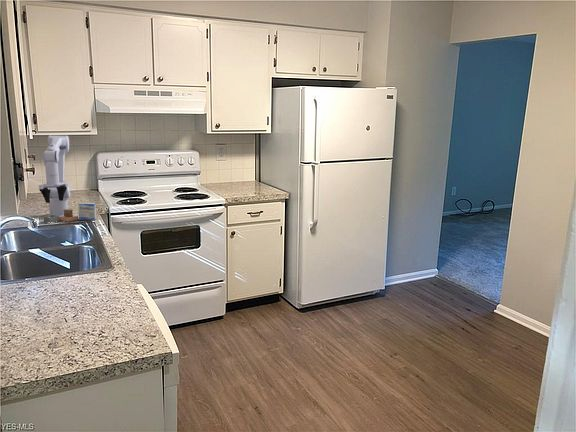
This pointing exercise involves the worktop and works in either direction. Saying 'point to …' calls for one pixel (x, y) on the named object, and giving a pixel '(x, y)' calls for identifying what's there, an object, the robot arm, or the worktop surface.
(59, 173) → the robot arm
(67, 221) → the rubber mat
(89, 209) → the medicine box
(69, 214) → the lid
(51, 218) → the storage box
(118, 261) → the worktop surface
